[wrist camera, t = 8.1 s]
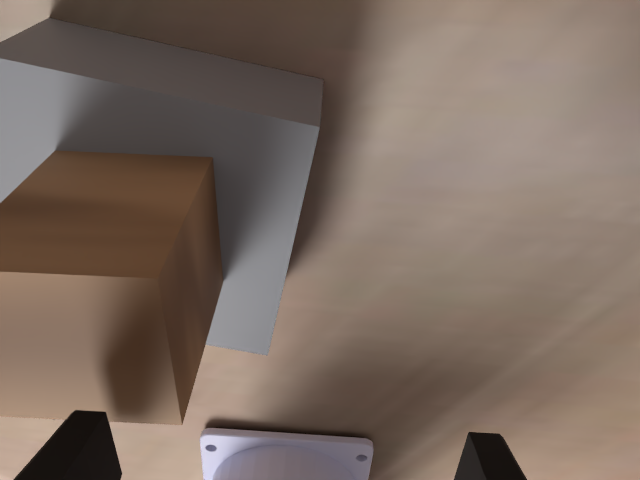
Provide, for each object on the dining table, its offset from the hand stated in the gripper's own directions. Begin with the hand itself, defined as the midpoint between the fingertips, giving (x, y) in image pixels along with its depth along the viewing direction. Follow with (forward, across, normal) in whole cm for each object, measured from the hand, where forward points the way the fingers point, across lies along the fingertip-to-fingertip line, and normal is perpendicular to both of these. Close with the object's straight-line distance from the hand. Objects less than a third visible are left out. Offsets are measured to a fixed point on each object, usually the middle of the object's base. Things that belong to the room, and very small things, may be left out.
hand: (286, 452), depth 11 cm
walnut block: (+6, +4, -2) cm, 7 cm away
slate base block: (+10, +4, -1) cm, 11 cm away
